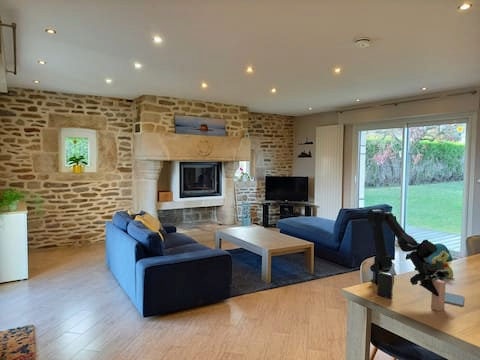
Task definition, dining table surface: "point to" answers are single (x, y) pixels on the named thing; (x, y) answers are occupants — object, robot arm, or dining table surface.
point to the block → (439, 301)
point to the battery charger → (385, 284)
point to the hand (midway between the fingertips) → (441, 295)
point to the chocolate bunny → (443, 257)
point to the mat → (454, 299)
